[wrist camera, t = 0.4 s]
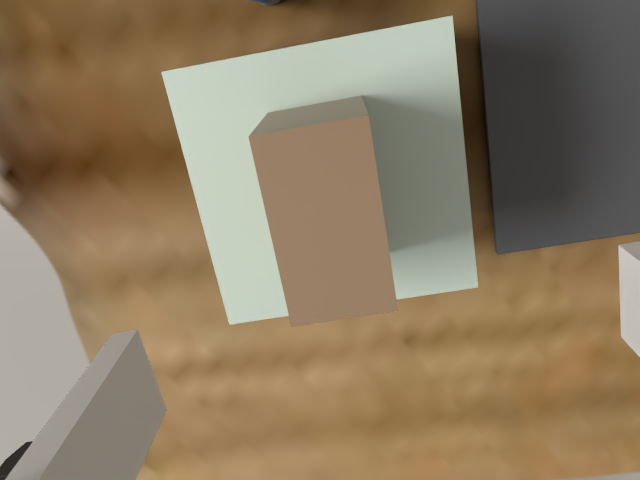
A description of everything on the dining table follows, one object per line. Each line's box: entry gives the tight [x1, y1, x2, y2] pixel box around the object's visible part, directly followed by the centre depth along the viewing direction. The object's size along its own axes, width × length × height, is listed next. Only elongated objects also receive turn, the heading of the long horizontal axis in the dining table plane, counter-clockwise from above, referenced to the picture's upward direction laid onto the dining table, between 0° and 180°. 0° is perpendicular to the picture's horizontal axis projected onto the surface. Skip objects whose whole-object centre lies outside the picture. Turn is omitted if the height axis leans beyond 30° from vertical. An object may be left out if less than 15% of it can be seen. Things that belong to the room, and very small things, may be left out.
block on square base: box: [162, 16, 478, 327], centre depth 29 cm, size 15×15×10 cm
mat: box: [476, 0, 640, 254], centre depth 39 cm, size 18×18×1 cm
